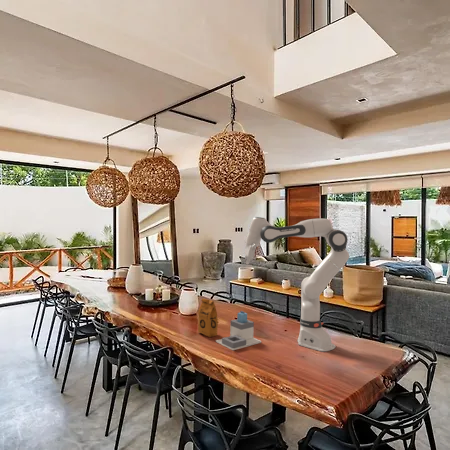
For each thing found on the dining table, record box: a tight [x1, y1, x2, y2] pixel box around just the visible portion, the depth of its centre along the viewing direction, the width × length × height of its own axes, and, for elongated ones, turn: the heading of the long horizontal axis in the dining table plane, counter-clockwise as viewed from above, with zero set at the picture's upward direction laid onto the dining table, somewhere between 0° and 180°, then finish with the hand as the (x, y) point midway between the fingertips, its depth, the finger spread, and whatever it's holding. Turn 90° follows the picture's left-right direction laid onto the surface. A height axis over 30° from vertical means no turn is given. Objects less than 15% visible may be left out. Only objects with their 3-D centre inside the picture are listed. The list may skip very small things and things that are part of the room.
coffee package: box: [197, 298, 219, 338], centre depth 217 cm, size 10×12×22 cm
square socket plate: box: [215, 319, 262, 351], centre depth 204 cm, size 16×22×11 cm
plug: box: [237, 310, 248, 323], centre depth 210 cm, size 4×4×9 cm
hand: (246, 263), depth 214 cm, fingers open, 8 cm apart
